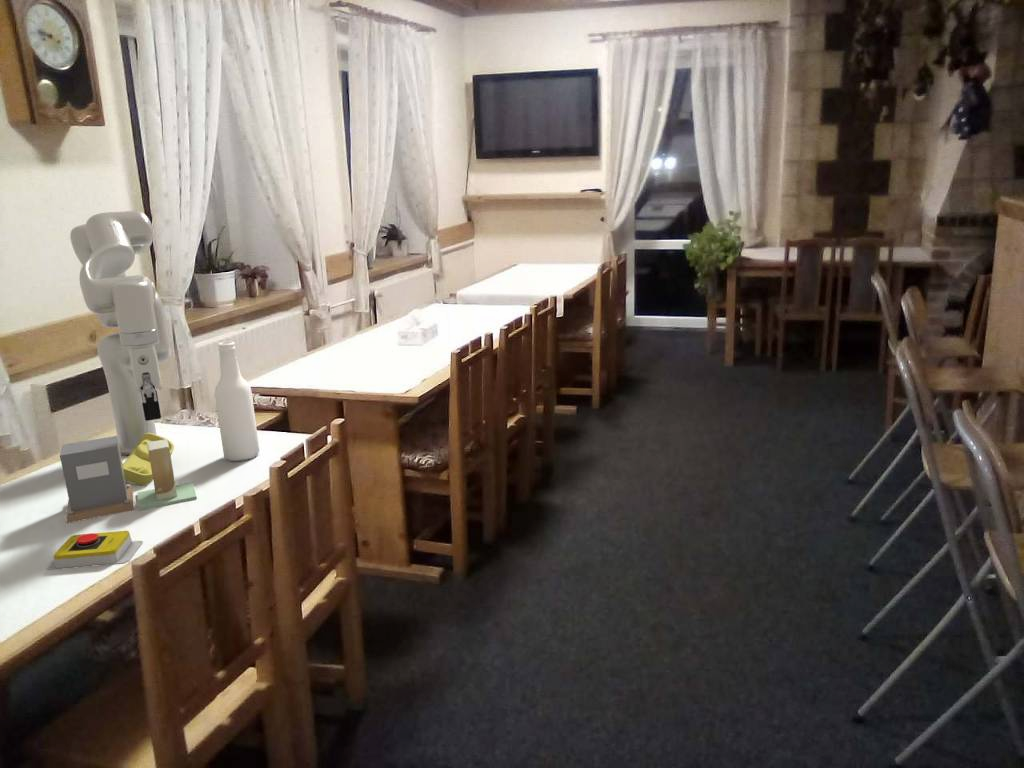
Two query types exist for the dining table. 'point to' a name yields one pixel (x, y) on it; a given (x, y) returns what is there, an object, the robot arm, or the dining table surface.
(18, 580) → the dining table surface
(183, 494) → the mat
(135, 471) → the plastic component
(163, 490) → the skincare box
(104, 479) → the mounted unit
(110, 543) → the emergency button
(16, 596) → the dining table surface
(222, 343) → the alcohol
